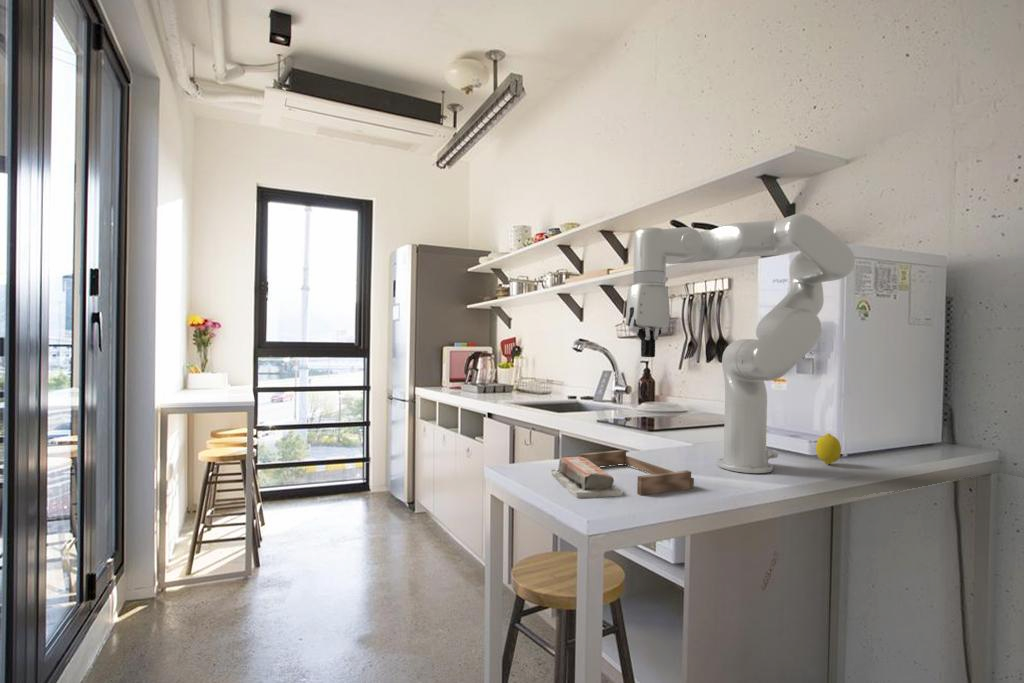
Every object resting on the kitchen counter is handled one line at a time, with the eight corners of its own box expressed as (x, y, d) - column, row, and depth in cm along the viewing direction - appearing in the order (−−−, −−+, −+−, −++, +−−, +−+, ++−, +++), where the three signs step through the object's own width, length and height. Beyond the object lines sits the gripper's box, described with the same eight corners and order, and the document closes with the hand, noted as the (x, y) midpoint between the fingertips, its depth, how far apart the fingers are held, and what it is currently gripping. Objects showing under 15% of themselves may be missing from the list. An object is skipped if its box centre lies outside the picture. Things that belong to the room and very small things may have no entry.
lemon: (840, 468, 132) (841, 436, 132) (815, 465, 135) (815, 434, 135) (840, 464, 137) (841, 433, 137) (815, 461, 140) (816, 431, 140)
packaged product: (550, 455, 122) (591, 454, 124) (549, 476, 122) (591, 475, 124) (576, 476, 104) (624, 474, 106) (576, 500, 104) (623, 498, 106)
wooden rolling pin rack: (625, 463, 134) (625, 449, 134) (693, 487, 113) (694, 471, 113) (578, 468, 128) (578, 454, 128) (641, 495, 107) (641, 477, 107)
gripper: (662, 283, 134) (661, 356, 135) (614, 280, 128) (613, 356, 128) (684, 281, 128) (682, 357, 128) (634, 277, 121) (632, 357, 121)
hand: (647, 356), depth 128 cm, fingers closed
